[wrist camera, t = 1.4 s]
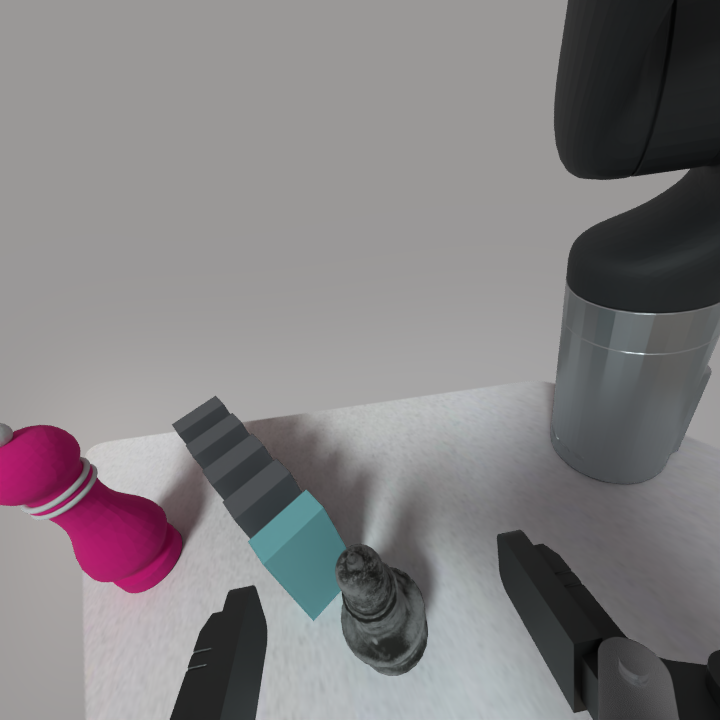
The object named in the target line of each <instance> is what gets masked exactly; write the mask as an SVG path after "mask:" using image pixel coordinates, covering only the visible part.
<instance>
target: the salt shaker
mask: <svg viewBox="0 0 720 720" xmlns="http://www.w3.org/2000/svg"><path fill="white" fill-rule="evenodd" d="M335 575H336V581H337V584H338V586H339V588H340V589H341V591H342V599H343V605H342V614H341V623H342V630H343V634H344V637H345V639H346V642H347V645H348V646H349V647H350V649H351V650H352V652H353V653H354V654H355V656H357V657H358V658H359V659H361V660H362V661H363V662H364V663H366V664H369V665H370V666H371V667H372V668H374V669H375V670H376V671H378V672H379V673H382V674H385V675H388V676H398V675H401V674H403V673H406V672H408V671H409V670H411V669H412V668H413V667H415V666H416V664H417V663H418V662H419V660H420V659H421V657H422V656H423V653H424V650H425V648H426V644H427V637H428V630H427V622H426V619H425V606H424V602H423V599H422V595H421V592H420V590H419V589H418V587H417V585H416V584H415V582H414V581H413V580H412V579H411V578H410V577H409V576H408V575H407V574H406V573H404V572H402V571H400V570H398V569H396V568H392V567H389V566H388V565H387V564H385V563H383V562H382V561H381V559H380V557H379V555H378V554H377V553H376V552H375V551H374V550H373V549H372V548H370V547H369V546H367V545H362V544H357V545H353V546H350V547H348V548H347V549H345V550H344V551H343V552H342V553H341V555H340V556H339V558H338V560H337V563H336V567H335Z"/></svg>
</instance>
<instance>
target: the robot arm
mask: <svg viewBox="0 0 720 720" xmlns="http://www.w3.org/2000/svg"><path fill="white" fill-rule="evenodd" d="M554 130H555V140H556V146H557V150H558V153H559V157H560V160H561V161H562V163H563V164H564V166H565V168H566V169H567V170H568V172H570V173H571V174H573V175H574V176H576V177H578V178H583V179H598V180H608V179H609V180H610V179H619V178H627V177H630V176H640V175H648V174H654V173H662V172H669V171H676V170H683V169H690V170H689V171H688V173H687V174H686V175H685V176H684V177H683V178H682V179H681V180H680V181H678V182H677V183H676V184H675V185H673V186H672V187H670V188H669V189H667V190H666V191H665V192H663V193H661V194H660V195H658V196H657V197H655V198H653V199H652V200H650V201H648V202H646V203H644V204H642V205H640V206H638V207H636V208H634V209H631V210H629V211H627V212H625V213H622V214H619V215H617V216H615V217H612V218H610V219H607V220H605V221H603V222H600V223H598V224H596V225H594V226H593V227H591V228H589V229H588V230H586V231H585V232H583V233H582V234H581V235H580V236H579V237H578V238H577V239H576V240H575V242H574V243H573V245H572V248H571V250H570V253H569V258H568V266H567V276H566V286H565V296H564V306H563V317H562V327H561V337H560V346H559V356H558V366H557V376H556V385H555V395H554V404H553V414H552V423H551V441H552V444H553V446H554V449H555V450H556V452H557V453H558V454H559V456H560V457H561V458H562V459H563V460H564V461H565V462H566V463H567V464H568V465H570V466H571V467H573V468H574V469H576V470H577V471H579V472H581V473H583V474H585V475H587V476H589V477H592V478H595V479H598V480H601V481H606V482H611V483H621V484H631V483H638V482H643V481H646V480H648V479H651V478H653V477H654V476H656V475H657V474H659V473H660V472H661V471H662V469H663V468H664V467H665V465H666V463H667V460H668V458H669V455H670V454H671V453H672V452H675V451H678V449H679V447H680V444H681V442H682V440H683V438H684V435H685V433H686V431H687V428H688V426H689V424H690V421H691V419H692V417H693V415H694V412H695V410H696V407H697V405H698V403H699V401H700V398H701V396H702V394H703V391H704V389H705V387H706V384H707V382H708V380H709V378H710V375H711V368H710V367H709V366H708V362H709V360H710V358H711V355H712V353H713V350H714V348H715V345H716V343H717V341H718V338H719V336H720V0H568V5H567V12H566V19H565V25H564V32H563V39H562V46H561V52H560V59H559V66H558V74H557V82H556V92H555V106H554ZM497 545H498V559H499V571H500V576H501V580H502V583H503V586H504V588H505V590H506V592H507V594H508V596H509V598H510V600H511V601H512V603H513V605H514V607H515V609H516V610H517V612H518V614H519V616H520V617H521V619H522V621H523V623H524V625H525V626H526V628H527V630H528V632H529V634H530V635H531V637H532V639H533V641H534V642H535V644H536V646H537V648H538V650H539V651H540V653H541V655H542V657H543V659H544V660H545V662H546V664H547V666H548V667H549V669H550V671H551V673H552V675H553V676H554V678H555V680H556V682H557V684H558V685H559V687H560V689H561V691H562V692H563V694H564V696H565V698H566V700H567V701H568V703H569V705H570V707H571V709H572V710H573V712H574V713H576V712H580V711H584V710H588V712H589V713H590V715H591V717H592V718H593V720H720V650H718V651H715V652H713V653H712V654H711V655H710V656H709V659H708V664H707V665H701V664H694V663H686V662H678V661H671V660H666V659H663V658H659V657H657V656H656V655H655V654H654V653H653V652H652V651H651V650H649V649H648V648H646V647H645V646H643V645H642V644H640V643H638V642H636V641H633V640H631V639H628V638H627V637H626V636H625V635H624V634H623V632H622V631H621V630H620V629H619V628H618V626H617V625H616V624H615V623H614V622H613V620H612V619H611V618H610V617H609V615H608V614H607V613H606V612H605V611H604V609H603V608H602V607H601V606H600V604H599V603H598V602H597V601H596V600H595V598H594V597H593V596H592V595H591V593H590V592H589V591H588V590H587V588H586V587H585V586H584V585H582V584H581V581H580V580H579V579H578V577H577V576H576V575H575V574H574V573H572V571H571V569H570V568H569V566H568V565H567V564H566V563H565V562H564V560H563V559H562V558H561V557H560V555H559V554H557V553H556V552H554V551H553V550H551V549H550V548H548V547H547V546H545V545H544V544H539V545H533V544H532V543H531V541H530V540H529V539H528V537H527V536H526V535H525V534H524V532H523V531H521V530H516V531H511V532H507V533H502V534H498V535H497ZM266 647H267V624H266V619H265V616H264V612H263V609H262V606H261V603H260V599H259V596H258V593H257V589H256V587H255V586H254V585H252V586H248V587H243V588H238V589H233V590H230V591H229V592H228V595H227V598H226V601H225V604H224V608H223V611H222V612H217V613H213V614H212V615H211V616H210V618H209V619H208V621H207V622H206V624H205V625H204V627H203V628H202V630H201V631H200V633H199V636H198V639H197V642H196V645H195V648H194V651H193V652H194V653H193V655H192V656H191V659H190V662H189V665H188V671H187V672H186V674H185V677H184V680H183V683H182V686H181V689H180V691H179V694H178V697H177V700H176V703H175V706H174V709H173V712H172V715H171V718H170V720H255V718H256V712H257V705H258V699H259V692H260V686H261V679H262V673H263V666H264V660H265V654H266Z"/></svg>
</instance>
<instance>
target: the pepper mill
mask: <svg viewBox="0 0 720 720" xmlns="http://www.w3.org/2000/svg"><path fill="white" fill-rule="evenodd" d="M0 505H6V506H17V505H21V509H22V511H23V512H25V513H27V514H30V515H31V517H32V518H33V519H36V520H46V519H49V520H51V521H53V522H55V523H57V524H58V525H59V526H61V527H62V528H63V529H64V530H65V531H66V532H67V534H68V535H69V537H70V539H71V541H72V545H73V549H74V552H75V555H76V559H77V561H78V562H79V564H80V566H81V568H82V570H83V571H85V572H86V573H87V574H88V575H89V576H90V577H91V578H93V579H94V580H97V581H100V582H114V584H116V585H117V586H119V587H120V588H122V589H123V590H125V591H126V592H129V593H139V592H143V591H146V590H148V589H150V588H152V587H154V586H155V585H156V584H158V583H159V582H160V581H161V580H162V579H163V578H164V577H165V576H166V575H167V574H168V573H169V572H170V571H171V569H172V568H173V567H174V565H175V564H176V562H177V560H178V558H179V555H180V553H181V549H182V538H181V535H180V533H179V532H178V531H177V530H176V529H175V528H174V527H173V526H172V525H171V524H169V523H168V522H167V518H166V514H165V512H164V511H163V509H162V508H161V507H160V506H158V505H157V504H156V503H154V502H153V501H151V500H149V499H146V498H144V497H140V496H136V495H131V494H125V493H121V492H116V491H114V490H112V489H109V488H108V487H107V486H105V485H104V484H103V483H101V482H100V480H99V479H98V478H97V468H96V467H95V466H94V465H92V464H90V462H89V461H88V460H87V459H86V458H82V457H80V447H79V444H78V442H77V441H76V439H75V438H74V437H73V436H72V435H71V434H69V433H68V432H66V431H65V430H62V429H60V428H58V427H54V426H48V425H37V426H30V427H25V428H22V429H20V430H17V431H14V432H13V431H12V429H11V428H10V427H9V426H7V425H5V424H2V423H0Z"/></svg>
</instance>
